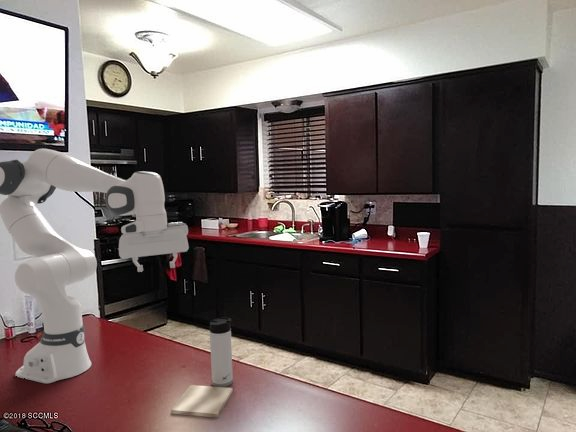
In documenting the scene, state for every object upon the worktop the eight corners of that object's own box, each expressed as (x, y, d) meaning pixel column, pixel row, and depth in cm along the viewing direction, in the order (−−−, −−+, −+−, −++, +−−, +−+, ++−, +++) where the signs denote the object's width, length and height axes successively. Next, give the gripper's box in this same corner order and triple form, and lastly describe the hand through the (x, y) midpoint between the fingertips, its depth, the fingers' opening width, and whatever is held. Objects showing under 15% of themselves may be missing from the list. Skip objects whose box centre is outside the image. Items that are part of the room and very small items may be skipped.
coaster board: (171, 413, 112) (171, 409, 112) (190, 388, 125) (190, 384, 125) (217, 417, 110) (217, 413, 110) (232, 391, 122) (232, 388, 122)
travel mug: (229, 388, 124) (227, 323, 122) (208, 386, 125) (205, 322, 123) (236, 378, 130) (234, 316, 128) (216, 376, 131) (213, 314, 129)
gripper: (186, 220, 133) (191, 263, 134) (118, 227, 128) (122, 271, 128) (187, 221, 127) (191, 266, 128) (115, 228, 121) (120, 275, 122)
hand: (156, 269), depth 128 cm, fingers open, 8 cm apart
